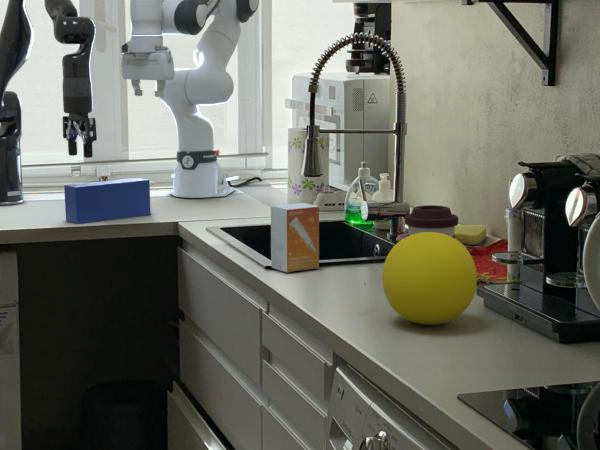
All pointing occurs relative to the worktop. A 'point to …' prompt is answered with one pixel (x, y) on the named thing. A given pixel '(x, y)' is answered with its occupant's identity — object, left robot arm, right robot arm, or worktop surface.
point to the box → (107, 200)
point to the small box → (295, 237)
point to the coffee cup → (431, 220)
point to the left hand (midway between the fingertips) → (80, 156)
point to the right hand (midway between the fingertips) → (148, 96)
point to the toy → (429, 278)
